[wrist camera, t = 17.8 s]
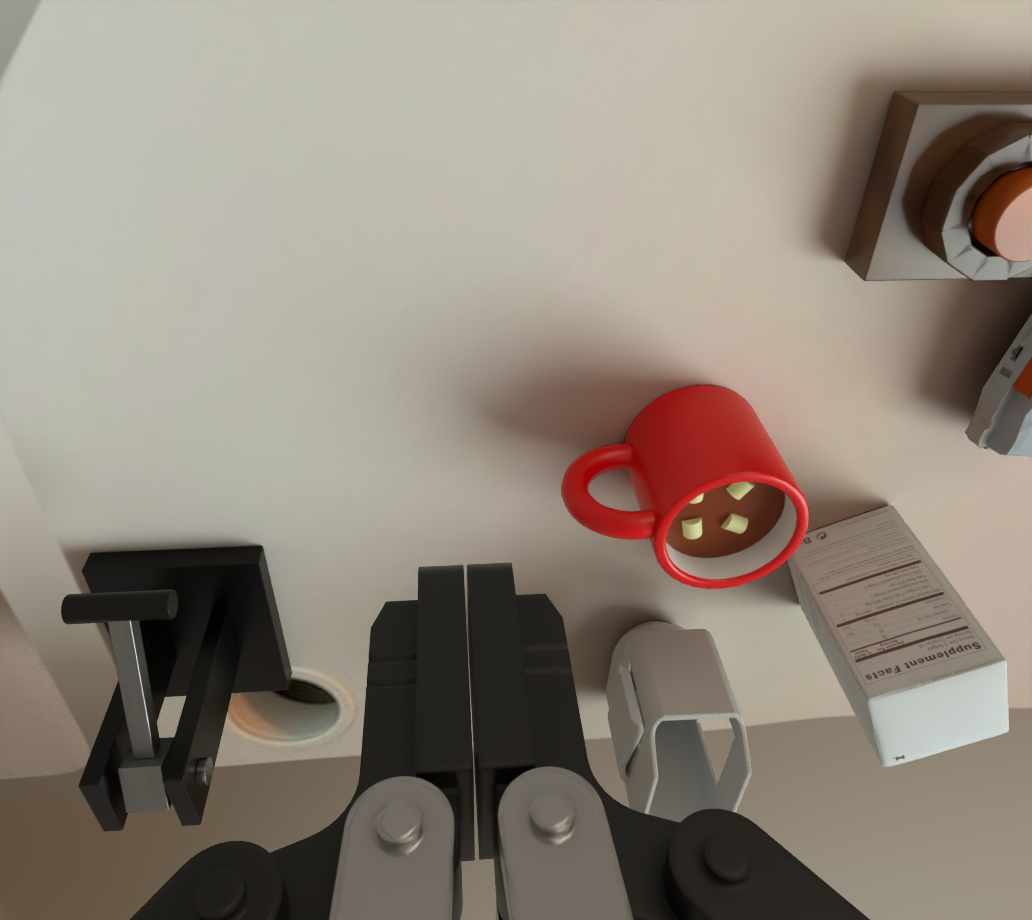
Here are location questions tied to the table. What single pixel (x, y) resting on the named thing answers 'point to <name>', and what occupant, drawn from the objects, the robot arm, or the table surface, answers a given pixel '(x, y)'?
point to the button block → (939, 185)
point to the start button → (1006, 216)
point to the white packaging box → (899, 638)
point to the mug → (698, 489)
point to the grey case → (1007, 402)
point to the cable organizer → (673, 722)
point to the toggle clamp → (188, 663)
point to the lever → (132, 686)
